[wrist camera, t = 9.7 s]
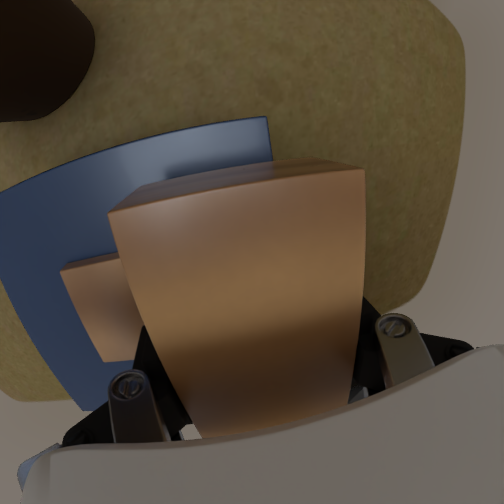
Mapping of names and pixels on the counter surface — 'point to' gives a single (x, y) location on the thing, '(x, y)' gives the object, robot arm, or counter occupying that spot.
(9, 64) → the olive oil
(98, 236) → the blue drawer box
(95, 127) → the counter surface
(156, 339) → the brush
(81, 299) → the coaster
